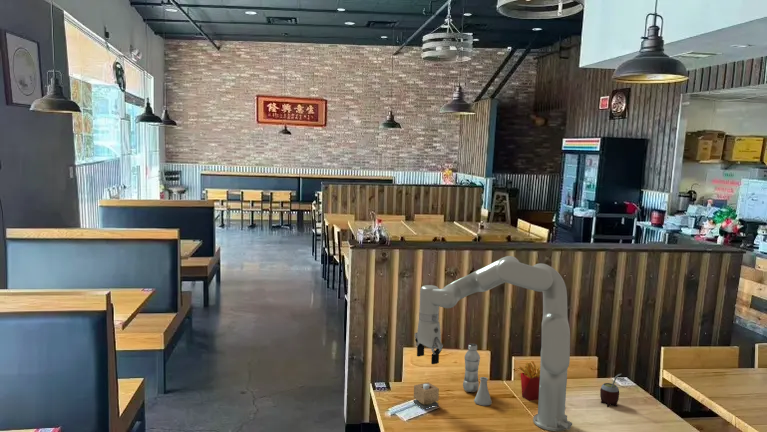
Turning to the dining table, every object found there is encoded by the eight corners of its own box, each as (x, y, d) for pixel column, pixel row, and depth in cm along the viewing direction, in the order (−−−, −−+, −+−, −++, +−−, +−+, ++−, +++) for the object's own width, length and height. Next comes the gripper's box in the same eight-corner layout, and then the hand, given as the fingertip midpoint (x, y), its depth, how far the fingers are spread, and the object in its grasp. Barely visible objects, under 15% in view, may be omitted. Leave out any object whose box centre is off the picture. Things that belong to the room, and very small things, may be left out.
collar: (438, 400, 207) (438, 388, 207) (423, 404, 204) (424, 391, 203) (427, 394, 213) (428, 382, 213) (413, 397, 210) (414, 385, 209)
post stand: (438, 406, 207) (438, 386, 207) (423, 409, 204) (424, 389, 203) (427, 399, 213) (428, 380, 213) (413, 402, 210) (414, 383, 209)
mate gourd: (601, 399, 219) (603, 364, 218) (621, 404, 215) (624, 368, 214) (598, 405, 212) (600, 369, 211) (619, 410, 208) (621, 373, 207)
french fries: (542, 400, 216) (544, 364, 215) (525, 403, 213) (527, 366, 212) (528, 392, 224) (530, 357, 223) (512, 394, 221) (514, 359, 220)
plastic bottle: (459, 389, 225) (461, 343, 223) (472, 387, 228) (474, 341, 226) (468, 395, 219) (470, 348, 217) (481, 392, 222) (483, 346, 220)
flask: (492, 407, 208) (493, 382, 207) (473, 405, 210) (474, 380, 209) (491, 399, 215) (493, 376, 214) (474, 397, 217) (475, 374, 216)
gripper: (450, 321, 201) (448, 365, 202) (423, 311, 215) (422, 351, 217) (434, 323, 197) (433, 368, 198) (408, 313, 211) (407, 354, 213)
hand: (427, 359), depth 207 cm, fingers open, 9 cm apart
